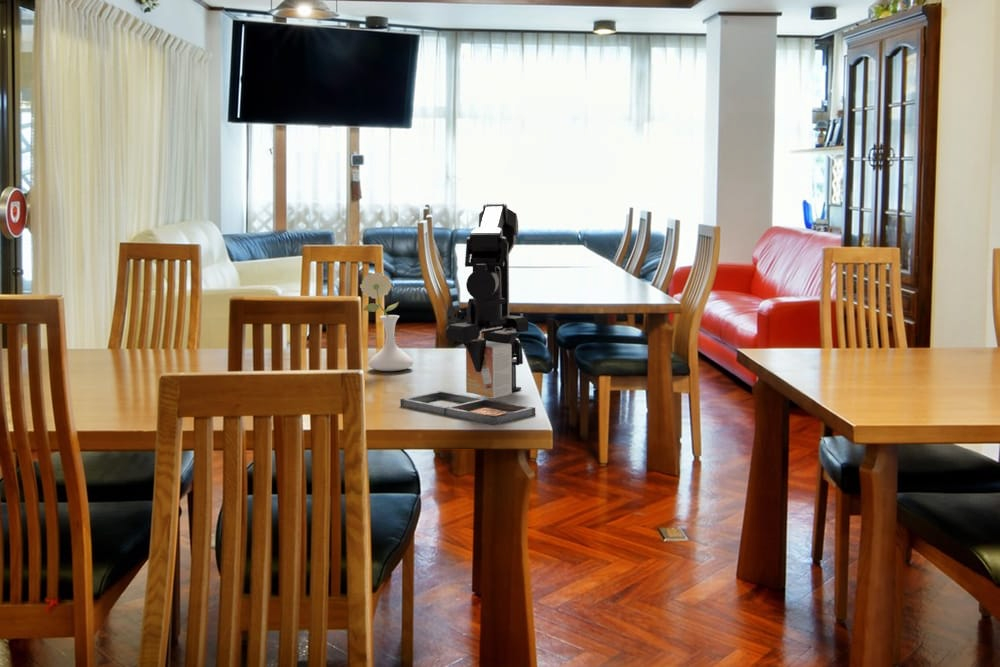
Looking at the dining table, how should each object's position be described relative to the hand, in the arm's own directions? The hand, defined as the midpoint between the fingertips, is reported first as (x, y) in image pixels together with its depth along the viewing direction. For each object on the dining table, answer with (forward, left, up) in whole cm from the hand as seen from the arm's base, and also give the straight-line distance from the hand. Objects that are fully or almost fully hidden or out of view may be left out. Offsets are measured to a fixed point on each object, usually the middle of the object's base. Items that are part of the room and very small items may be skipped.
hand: (488, 369), depth 221 cm
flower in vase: (-21, -56, -10) cm, 61 cm away
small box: (0, 0, -5) cm, 5 cm away
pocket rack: (0, -7, -9) cm, 11 cm away
